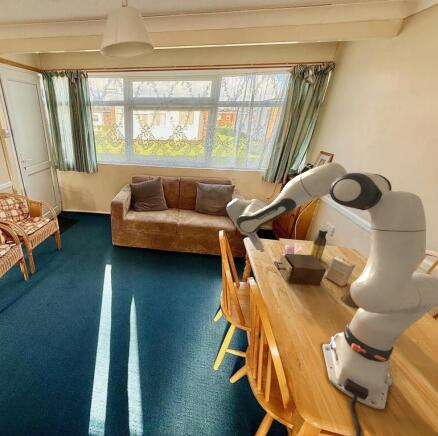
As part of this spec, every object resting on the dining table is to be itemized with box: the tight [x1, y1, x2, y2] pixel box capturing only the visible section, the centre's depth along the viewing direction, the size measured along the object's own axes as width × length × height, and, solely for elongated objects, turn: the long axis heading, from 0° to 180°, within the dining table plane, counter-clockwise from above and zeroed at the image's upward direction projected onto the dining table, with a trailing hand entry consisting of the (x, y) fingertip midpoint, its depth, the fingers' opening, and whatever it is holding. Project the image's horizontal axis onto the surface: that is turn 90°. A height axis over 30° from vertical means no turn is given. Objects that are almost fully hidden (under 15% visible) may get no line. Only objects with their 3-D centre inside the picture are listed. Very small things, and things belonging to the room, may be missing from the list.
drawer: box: [273, 254, 294, 282], centre depth 124 cm, size 18×11×9 cm, turn 82°
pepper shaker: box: [342, 283, 359, 308], centre depth 106 cm, size 6×6×11 cm
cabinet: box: [284, 252, 327, 287], centre depth 123 cm, size 15×13×11 cm
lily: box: [281, 242, 303, 256], centre depth 140 cm, size 12×12×10 cm
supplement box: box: [325, 255, 357, 287], centre depth 119 cm, size 8×5×13 cm, turn 22°
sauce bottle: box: [308, 227, 328, 261], centre depth 137 cm, size 6×6×20 cm
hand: (260, 246), depth 121 cm, fingers open, 8 cm apart
